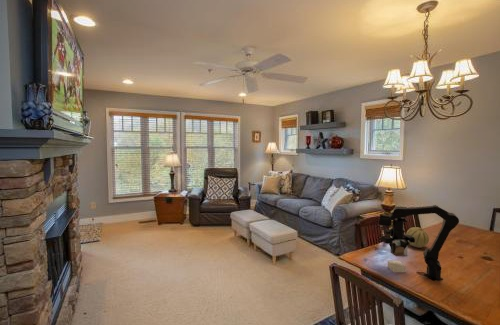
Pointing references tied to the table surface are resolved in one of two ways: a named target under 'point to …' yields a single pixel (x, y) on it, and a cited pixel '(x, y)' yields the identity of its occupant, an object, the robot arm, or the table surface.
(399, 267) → the cream block
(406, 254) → the light bulb box
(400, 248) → the walnut cube
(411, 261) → the table surface
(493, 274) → the table surface
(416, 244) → the cantaloupe
